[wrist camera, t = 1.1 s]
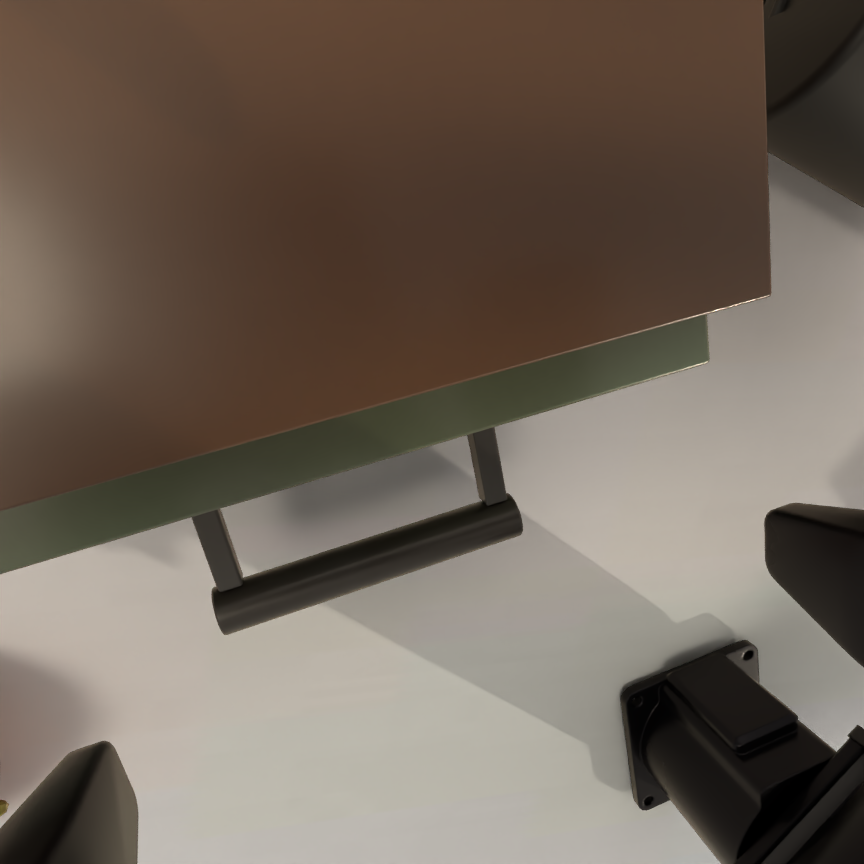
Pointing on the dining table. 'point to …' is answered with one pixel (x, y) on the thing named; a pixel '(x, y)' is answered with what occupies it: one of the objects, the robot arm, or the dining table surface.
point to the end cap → (817, 89)
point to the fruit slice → (3, 807)
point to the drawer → (337, 452)
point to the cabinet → (349, 207)
